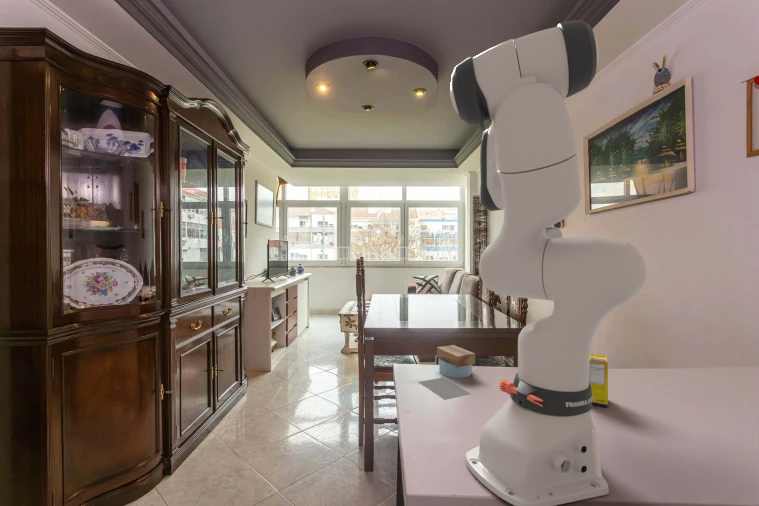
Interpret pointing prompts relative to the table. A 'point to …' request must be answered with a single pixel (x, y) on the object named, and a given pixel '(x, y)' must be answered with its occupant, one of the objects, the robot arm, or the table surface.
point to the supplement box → (599, 379)
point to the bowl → (454, 370)
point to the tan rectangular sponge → (456, 355)
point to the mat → (444, 388)
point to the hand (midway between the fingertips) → (532, 270)
